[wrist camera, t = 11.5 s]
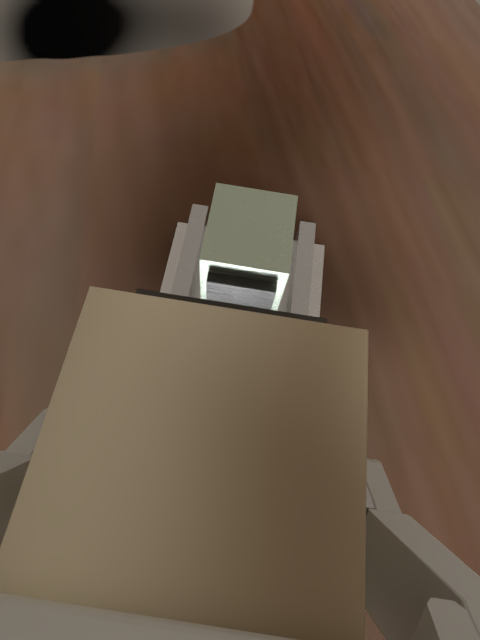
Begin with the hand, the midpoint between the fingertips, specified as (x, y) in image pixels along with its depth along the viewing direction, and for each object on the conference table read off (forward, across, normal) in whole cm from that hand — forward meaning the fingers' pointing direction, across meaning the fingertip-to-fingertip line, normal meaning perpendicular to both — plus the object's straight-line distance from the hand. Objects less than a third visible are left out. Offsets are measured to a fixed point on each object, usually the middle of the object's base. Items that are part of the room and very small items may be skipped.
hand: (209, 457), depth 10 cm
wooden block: (+4, 0, +5) cm, 6 cm away
